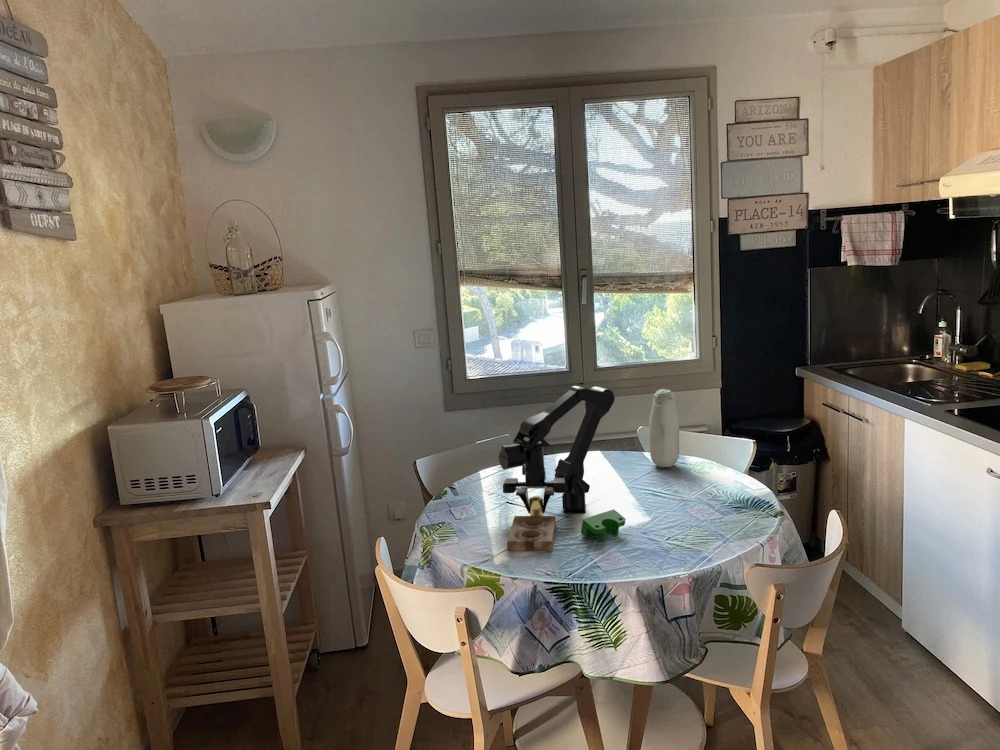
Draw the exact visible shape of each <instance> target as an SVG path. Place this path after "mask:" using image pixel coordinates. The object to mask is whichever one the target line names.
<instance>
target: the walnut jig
mask: <svg viewBox="0 0 1000 750" xmlns="http://www.w3.org/2000/svg"><path fill="white" fill-rule="evenodd" d="M556 529H557V517H556V515H543V516H530V515H514V517H513V520H512V523H511V527H510V529H509V534H508V537H507V540H506V546H507V547H506V548H507V552H508V551H552V552H553V548H554V541H555V537H554V536H555V535H556Z"/></svg>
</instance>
